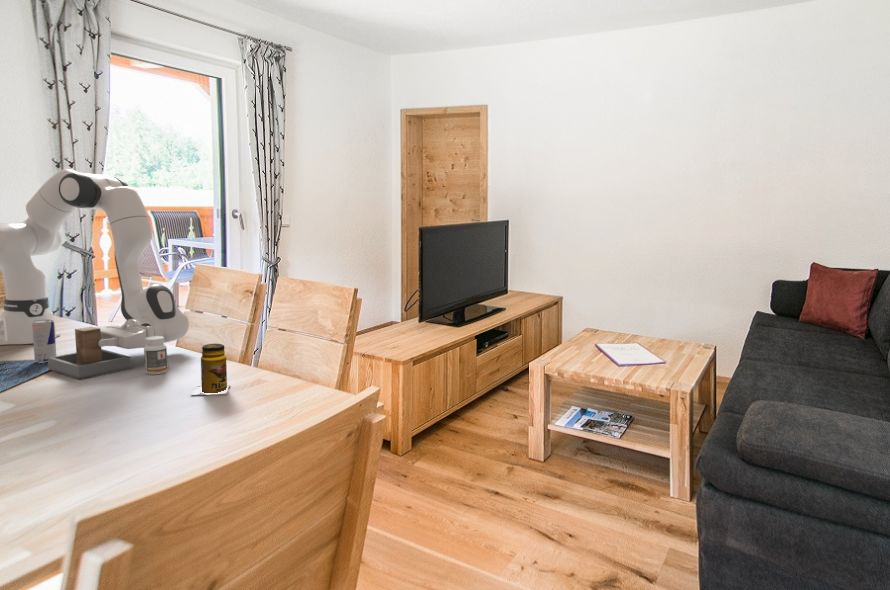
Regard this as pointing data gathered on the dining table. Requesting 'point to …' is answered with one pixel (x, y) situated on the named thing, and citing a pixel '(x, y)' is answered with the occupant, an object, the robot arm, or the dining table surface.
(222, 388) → the condiment
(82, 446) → the dining table surface
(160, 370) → the pill bottle
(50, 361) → the tote
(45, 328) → the energy drink
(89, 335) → the walnut block
